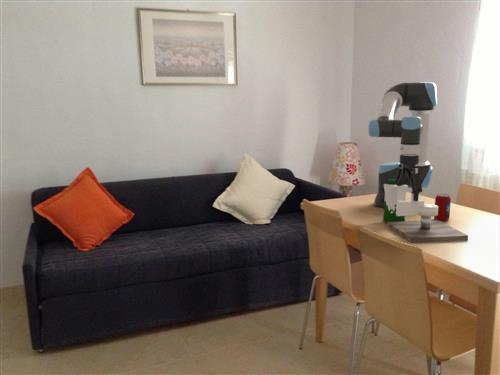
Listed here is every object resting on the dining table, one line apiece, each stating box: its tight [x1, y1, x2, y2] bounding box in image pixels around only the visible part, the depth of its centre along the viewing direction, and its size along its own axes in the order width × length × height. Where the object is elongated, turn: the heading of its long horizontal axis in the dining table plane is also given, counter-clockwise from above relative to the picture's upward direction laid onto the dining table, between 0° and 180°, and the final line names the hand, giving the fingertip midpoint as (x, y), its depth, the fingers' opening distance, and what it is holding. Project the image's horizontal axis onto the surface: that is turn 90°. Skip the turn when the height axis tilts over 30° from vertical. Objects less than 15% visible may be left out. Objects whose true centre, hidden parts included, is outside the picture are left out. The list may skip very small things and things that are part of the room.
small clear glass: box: [420, 216, 432, 230], centre depth 188 cm, size 4×4×6 cm
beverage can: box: [433, 193, 452, 222], centre depth 208 cm, size 7×7×12 cm
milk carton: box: [382, 179, 409, 223], centre depth 204 cm, size 9×9×20 cm
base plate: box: [386, 219, 469, 244], centre depth 189 cm, size 24×24×2 cm
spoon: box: [396, 199, 438, 218], centre depth 186 cm, size 18×9×6 cm, turn 97°
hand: (406, 204), depth 186 cm, fingers open, 13 cm apart
